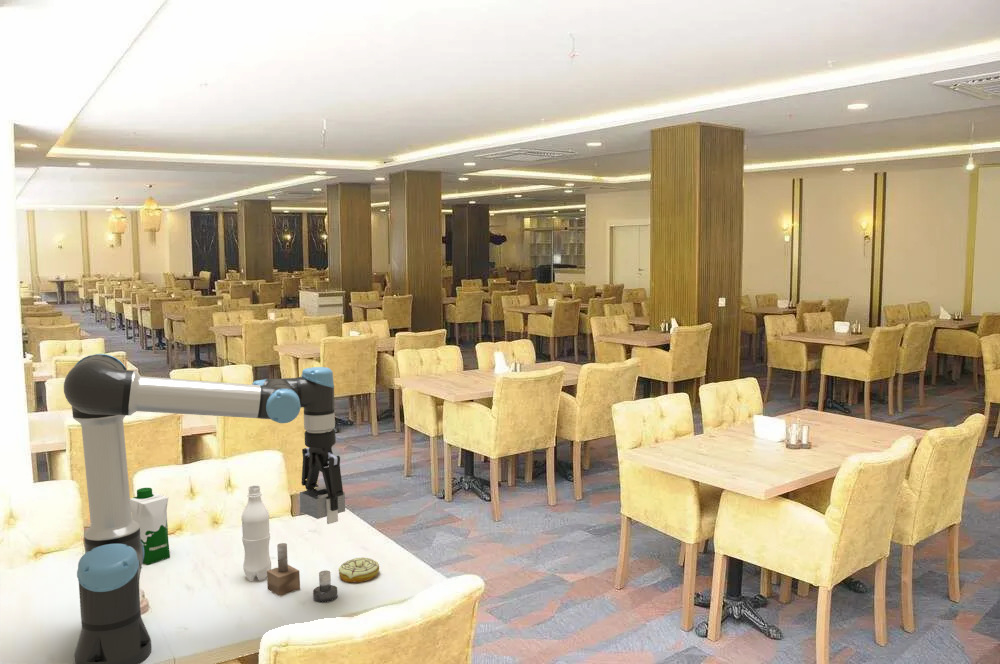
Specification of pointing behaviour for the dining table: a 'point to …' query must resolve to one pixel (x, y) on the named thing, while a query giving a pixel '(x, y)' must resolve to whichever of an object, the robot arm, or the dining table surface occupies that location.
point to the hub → (325, 588)
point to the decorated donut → (358, 570)
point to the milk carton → (151, 524)
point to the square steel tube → (318, 502)
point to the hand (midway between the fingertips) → (323, 518)
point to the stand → (283, 574)
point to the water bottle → (256, 536)
